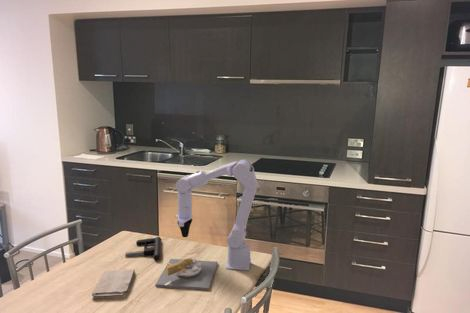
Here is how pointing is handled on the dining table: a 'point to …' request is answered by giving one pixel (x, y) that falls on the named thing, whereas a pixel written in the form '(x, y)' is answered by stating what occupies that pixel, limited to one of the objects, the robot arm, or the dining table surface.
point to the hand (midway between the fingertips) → (185, 236)
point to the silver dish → (184, 268)
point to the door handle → (152, 251)
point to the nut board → (196, 283)
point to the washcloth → (114, 284)
